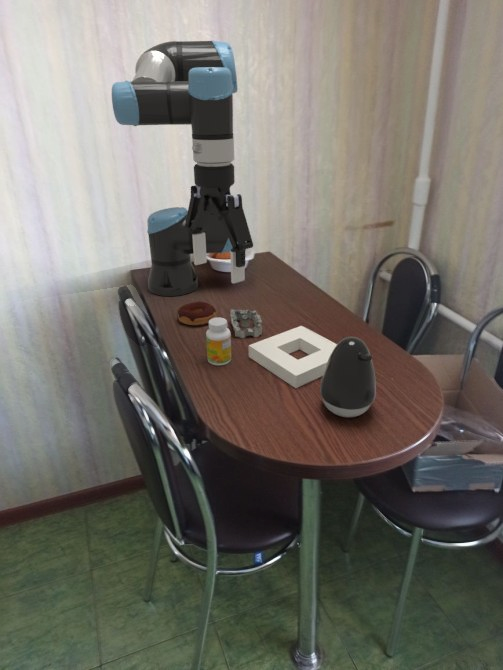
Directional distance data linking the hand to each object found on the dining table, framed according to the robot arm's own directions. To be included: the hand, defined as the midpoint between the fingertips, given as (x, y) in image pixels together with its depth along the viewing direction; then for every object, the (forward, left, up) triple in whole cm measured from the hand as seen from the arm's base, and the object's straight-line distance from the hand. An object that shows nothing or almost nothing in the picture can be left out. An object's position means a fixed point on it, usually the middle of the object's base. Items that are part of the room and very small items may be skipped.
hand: (218, 272), depth 97 cm
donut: (-21, +6, -21) cm, 31 cm away
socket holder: (+11, +13, -21) cm, 27 cm away
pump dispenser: (+30, +8, -21) cm, 37 cm away
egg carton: (-9, +13, -21) cm, 27 cm away
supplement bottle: (0, -1, -21) cm, 21 cm away
